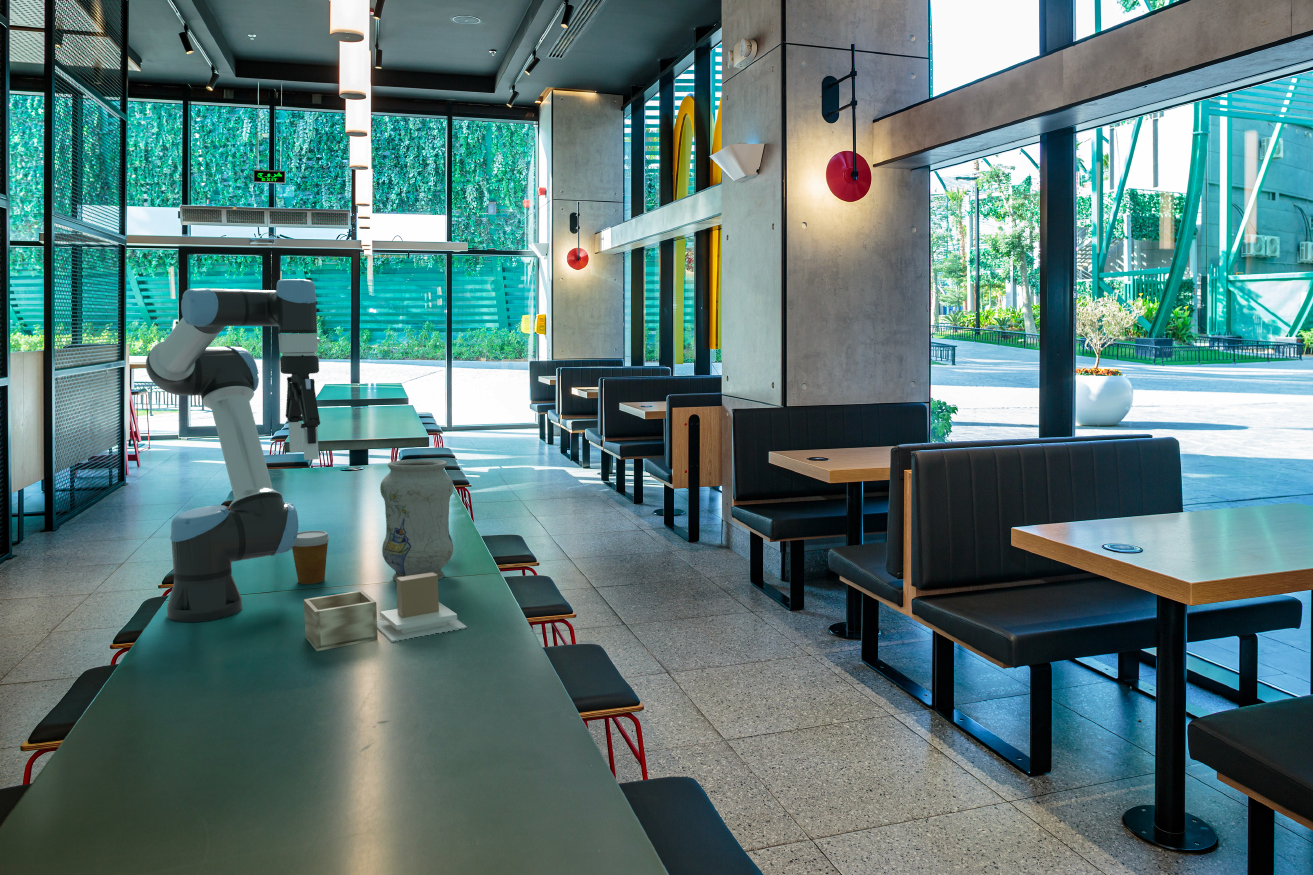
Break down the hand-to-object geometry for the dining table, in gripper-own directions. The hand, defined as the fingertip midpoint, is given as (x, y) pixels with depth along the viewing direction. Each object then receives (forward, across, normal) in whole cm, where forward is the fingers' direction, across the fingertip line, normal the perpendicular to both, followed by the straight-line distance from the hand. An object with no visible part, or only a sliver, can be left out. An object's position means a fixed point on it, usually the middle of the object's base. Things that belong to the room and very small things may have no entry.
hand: (303, 455), depth 194 cm
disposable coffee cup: (+37, +36, -8) cm, 52 cm away
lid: (+36, -14, -19) cm, 43 cm away
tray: (+37, -14, -19) cm, 44 cm away
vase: (+37, +24, -32) cm, 54 cm away
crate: (+37, -13, -3) cm, 39 cm away
